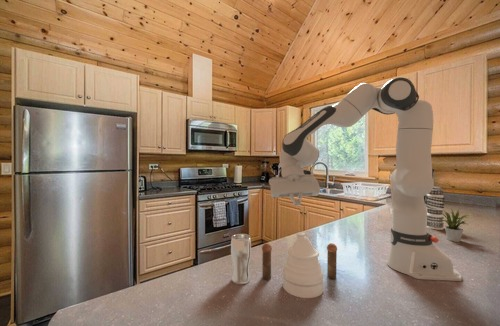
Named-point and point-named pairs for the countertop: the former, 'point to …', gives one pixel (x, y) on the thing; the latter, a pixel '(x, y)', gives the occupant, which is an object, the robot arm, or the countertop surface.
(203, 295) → the countertop surface
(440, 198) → the decorative candle
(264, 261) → the post
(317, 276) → the honey pot
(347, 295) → the countertop surface
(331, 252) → the post
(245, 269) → the beer glass
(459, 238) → the house plant
